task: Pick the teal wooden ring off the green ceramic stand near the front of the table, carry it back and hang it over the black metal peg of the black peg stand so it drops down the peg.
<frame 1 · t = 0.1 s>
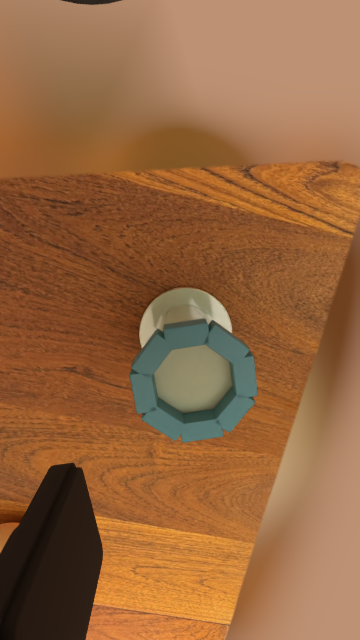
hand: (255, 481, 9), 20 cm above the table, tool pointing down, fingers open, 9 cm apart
ring: (193, 376, 19), point 10 cm above the table, touching ring stand
ring stand: (185, 331, 28), on the table
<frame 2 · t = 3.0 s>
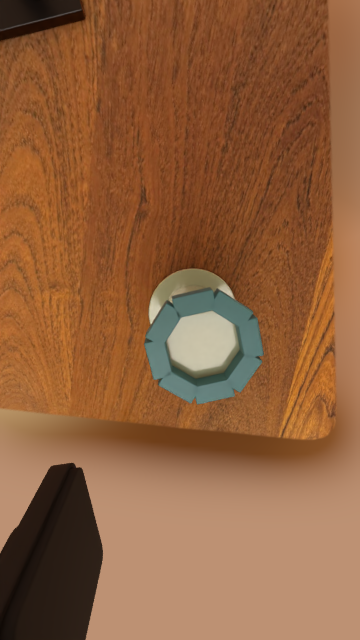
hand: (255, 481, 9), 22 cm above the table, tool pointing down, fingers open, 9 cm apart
ring: (202, 343, 20), point 10 cm above the table, touching ring stand
ring stand: (192, 311, 30), on the table
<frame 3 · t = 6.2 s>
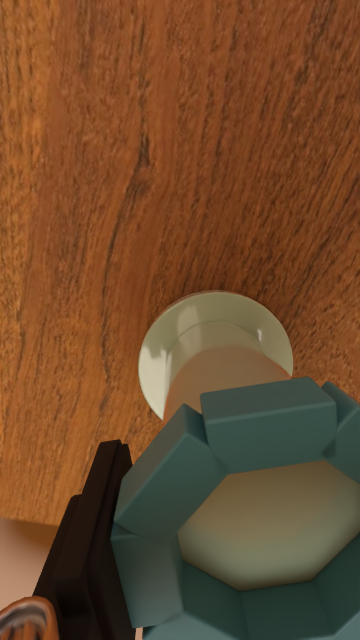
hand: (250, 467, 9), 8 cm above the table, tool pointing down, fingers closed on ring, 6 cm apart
ring: (267, 513, 8), point 10 cm above the table, touching gripper, ring stand
ring stand: (213, 362, 17), on the table
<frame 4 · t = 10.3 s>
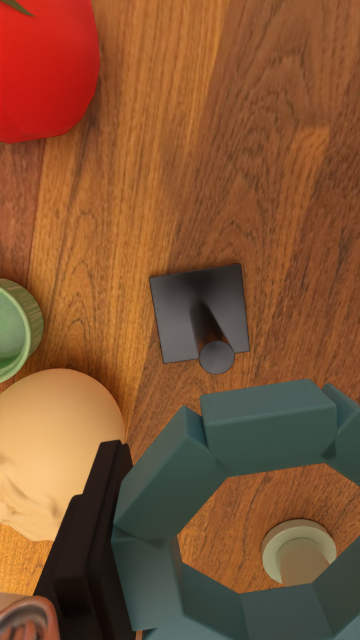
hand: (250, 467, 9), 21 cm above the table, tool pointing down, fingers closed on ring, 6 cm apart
ramekin: (2, 320, 29), on the table
black peg stand: (200, 313, 29), on the table
tomato: (40, 84, 25), on the table
sculpture: (69, 412, 32), on the table
ring: (267, 515, 8), point 22 cm above the table, touching gripper
ring stand: (296, 548, 36), on the table
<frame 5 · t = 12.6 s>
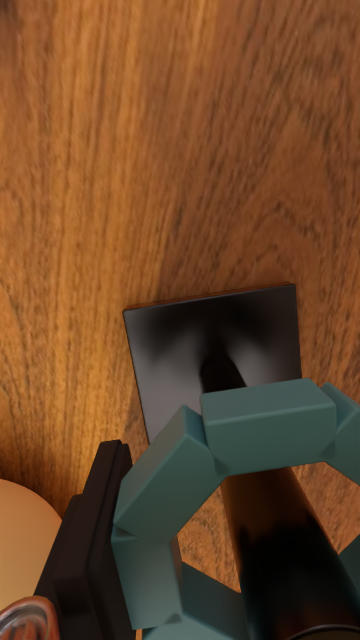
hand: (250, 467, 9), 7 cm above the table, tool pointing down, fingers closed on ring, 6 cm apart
black peg stand: (216, 370, 16), on the table
ring: (267, 515, 8), point 9 cm above the table, touching gripper
when the fingers open (3 cm above the table, at t = 14.4 s): ring drops 4 cm, resting on black peg stand.
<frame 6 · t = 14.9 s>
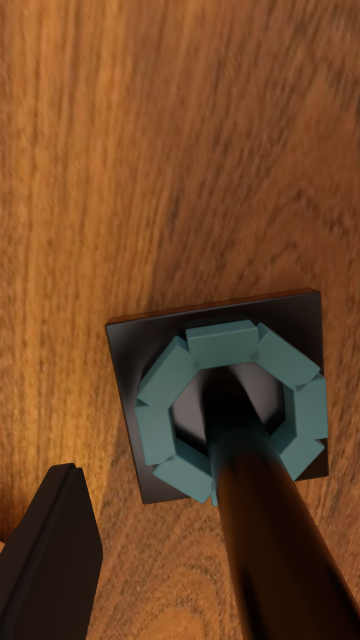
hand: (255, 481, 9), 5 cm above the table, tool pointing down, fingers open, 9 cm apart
black peg stand: (221, 394, 14), on the table
ring: (227, 406, 13), point 1 cm above the table, touching black peg stand
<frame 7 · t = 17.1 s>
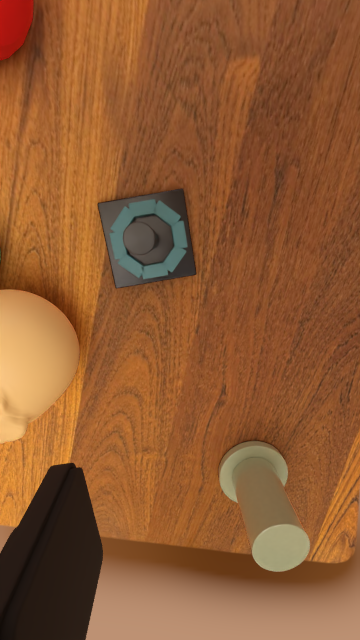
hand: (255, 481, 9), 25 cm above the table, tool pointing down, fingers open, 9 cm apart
black peg stand: (148, 240, 31), on the table
sculpture: (30, 341, 33), on the table
ring: (149, 240, 30), point 1 cm above the table, touching black peg stand
ring stand: (251, 470, 38), on the table
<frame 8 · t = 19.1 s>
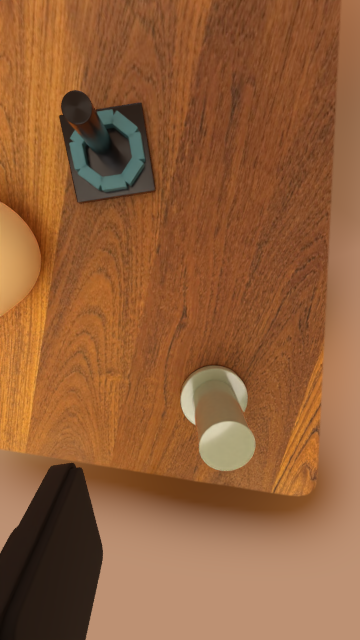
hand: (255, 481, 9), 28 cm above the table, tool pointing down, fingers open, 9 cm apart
black peg stand: (110, 156, 33), on the table
ring: (109, 154, 32), point 1 cm above the table, touching black peg stand
ring stand: (213, 396, 39), on the table
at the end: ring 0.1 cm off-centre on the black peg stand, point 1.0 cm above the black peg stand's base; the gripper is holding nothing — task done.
